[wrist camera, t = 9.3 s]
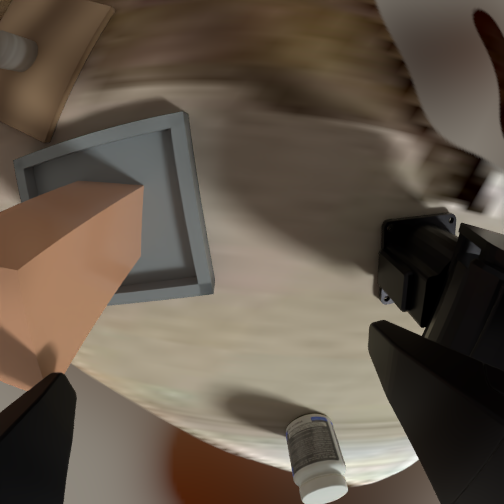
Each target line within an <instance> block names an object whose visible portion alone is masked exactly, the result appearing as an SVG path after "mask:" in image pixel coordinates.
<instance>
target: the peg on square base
mask: <svg viewBox="0 0 504 504" xmlns="http://www.w3.org/2000/svg"><path fill="white" fill-rule="evenodd" d="M114 12H115V9H114V8H113V7H112V6H108V5H104V4H100V3H96V2H92V1H88V0H12V1H11V3H10V5H9V6H8V8H7V10H6V12H5V13H4V15H3V17H2V19H1V21H0V122H2V123H5V124H7V125H9V126H11V127H13V128H15V129H17V130H19V131H21V132H23V133H25V134H27V135H29V136H31V137H33V138H35V139H37V140H39V141H41V142H43V143H47V142H50V141H51V138H52V135H53V133H54V130H55V127H56V125H57V122H58V120H59V117H60V115H61V113H62V110H63V108H64V105H65V103H66V101H67V99H68V96H69V94H70V92H71V90H72V88H73V86H74V83H75V81H76V79H77V77H78V75H79V73H80V71H81V69H82V67H83V65H84V63H85V61H86V60H87V58H88V56H89V54H90V52H91V50H92V48H93V47H94V45H95V43H96V41H97V40H98V38H99V36H100V34H101V33H102V31H103V29H104V28H105V26H106V25H107V23H108V21H109V20H110V18H111V17H112V15H113V13H114Z"/></svg>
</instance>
